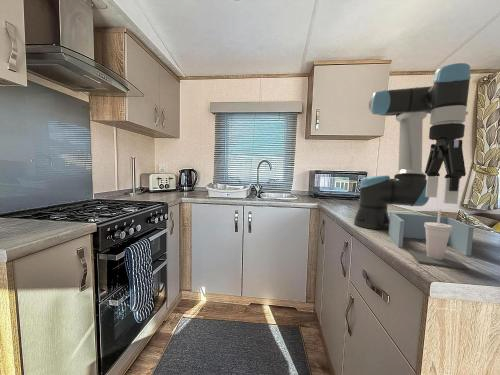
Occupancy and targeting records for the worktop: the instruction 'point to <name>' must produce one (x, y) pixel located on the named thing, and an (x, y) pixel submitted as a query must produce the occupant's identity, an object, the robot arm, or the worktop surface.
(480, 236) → the worktop surface
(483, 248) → the worktop surface
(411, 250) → the mat
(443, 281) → the worktop surface
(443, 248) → the smoothie
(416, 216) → the open frame
